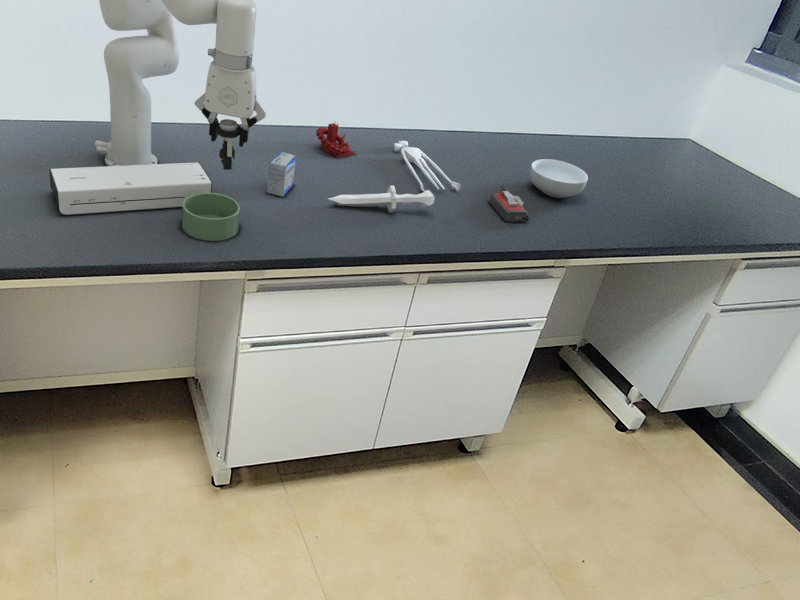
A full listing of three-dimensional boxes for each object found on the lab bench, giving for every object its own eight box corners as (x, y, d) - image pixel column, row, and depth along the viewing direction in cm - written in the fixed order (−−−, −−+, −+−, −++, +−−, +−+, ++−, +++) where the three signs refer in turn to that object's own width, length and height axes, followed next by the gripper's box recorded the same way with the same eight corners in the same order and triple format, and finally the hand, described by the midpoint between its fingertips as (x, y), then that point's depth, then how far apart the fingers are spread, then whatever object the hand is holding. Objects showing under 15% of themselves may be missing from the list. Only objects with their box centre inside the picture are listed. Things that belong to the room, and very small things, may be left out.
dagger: (327, 208, 192) (437, 204, 195) (325, 185, 193) (436, 181, 196) (326, 217, 199) (433, 213, 203) (325, 194, 200) (431, 190, 204)
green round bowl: (175, 235, 171) (175, 213, 168) (190, 209, 182) (190, 188, 179) (231, 244, 172) (233, 223, 169) (243, 219, 183) (244, 198, 180)
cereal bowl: (567, 181, 238) (574, 160, 234) (590, 206, 225) (597, 184, 221) (517, 177, 233) (523, 156, 230) (537, 203, 220) (544, 181, 216)
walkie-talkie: (534, 224, 209) (504, 190, 224) (539, 210, 206) (508, 176, 222) (506, 224, 206) (477, 189, 221) (510, 209, 203) (481, 175, 218)
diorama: (353, 161, 221) (357, 134, 217) (311, 154, 220) (315, 126, 216) (355, 147, 230) (360, 120, 226) (316, 140, 229) (319, 113, 225)
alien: (413, 146, 239) (417, 132, 236) (458, 201, 217) (463, 185, 214) (378, 146, 234) (382, 131, 231) (420, 202, 212) (425, 186, 209)
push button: (210, 158, 171) (211, 115, 166) (234, 156, 173) (235, 114, 168) (218, 171, 166) (219, 128, 161) (242, 170, 169) (244, 127, 163)
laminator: (58, 216, 169) (56, 191, 166) (50, 190, 177) (48, 166, 174) (211, 205, 185) (212, 182, 182) (196, 182, 194) (197, 159, 190)
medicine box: (283, 197, 195) (286, 166, 190) (266, 193, 196) (269, 162, 191) (293, 185, 202) (296, 155, 197) (276, 181, 202) (279, 151, 197)
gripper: (186, 56, 153) (184, 140, 163) (271, 73, 154) (264, 156, 164) (196, 45, 160) (193, 128, 170) (278, 62, 161) (270, 142, 171)
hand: (228, 141), depth 167 cm, fingers closed on push button, 5 cm apart
